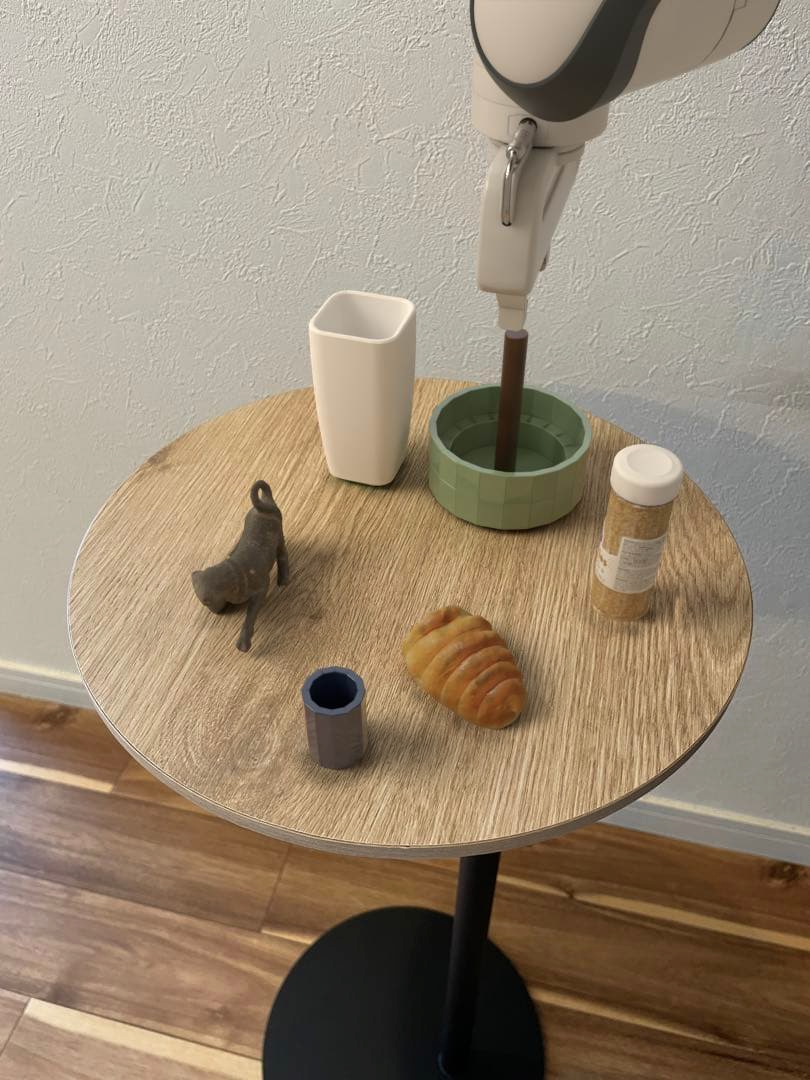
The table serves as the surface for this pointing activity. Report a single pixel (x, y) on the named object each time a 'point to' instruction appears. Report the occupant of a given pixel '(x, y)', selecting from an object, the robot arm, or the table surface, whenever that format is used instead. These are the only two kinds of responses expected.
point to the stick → (510, 399)
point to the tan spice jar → (634, 530)
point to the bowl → (541, 465)
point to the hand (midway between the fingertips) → (524, 295)
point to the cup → (364, 383)
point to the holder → (335, 717)
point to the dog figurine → (248, 564)
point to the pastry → (465, 667)
